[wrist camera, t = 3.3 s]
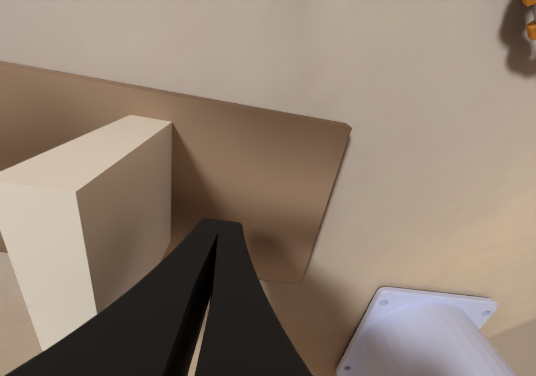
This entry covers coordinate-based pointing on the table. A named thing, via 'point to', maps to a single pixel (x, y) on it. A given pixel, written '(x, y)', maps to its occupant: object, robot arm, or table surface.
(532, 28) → the flamethrower
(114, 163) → the tile
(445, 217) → the table surface
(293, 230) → the board
